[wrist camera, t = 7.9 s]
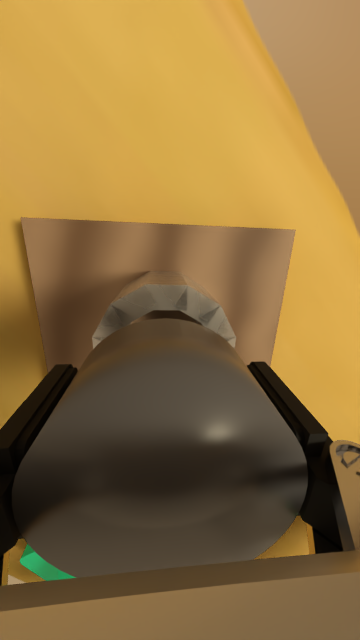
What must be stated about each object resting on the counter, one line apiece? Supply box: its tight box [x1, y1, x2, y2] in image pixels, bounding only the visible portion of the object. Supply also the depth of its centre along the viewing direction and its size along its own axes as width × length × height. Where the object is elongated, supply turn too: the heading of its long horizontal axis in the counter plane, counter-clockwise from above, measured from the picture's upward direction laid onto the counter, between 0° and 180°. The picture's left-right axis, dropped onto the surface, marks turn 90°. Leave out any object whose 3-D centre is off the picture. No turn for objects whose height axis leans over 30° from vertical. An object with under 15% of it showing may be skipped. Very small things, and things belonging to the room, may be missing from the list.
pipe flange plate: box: [21, 217, 296, 373], centre depth 17 cm, size 20×15×8 cm
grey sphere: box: [12, 318, 308, 578], centre depth 9 cm, size 7×7×7 cm
